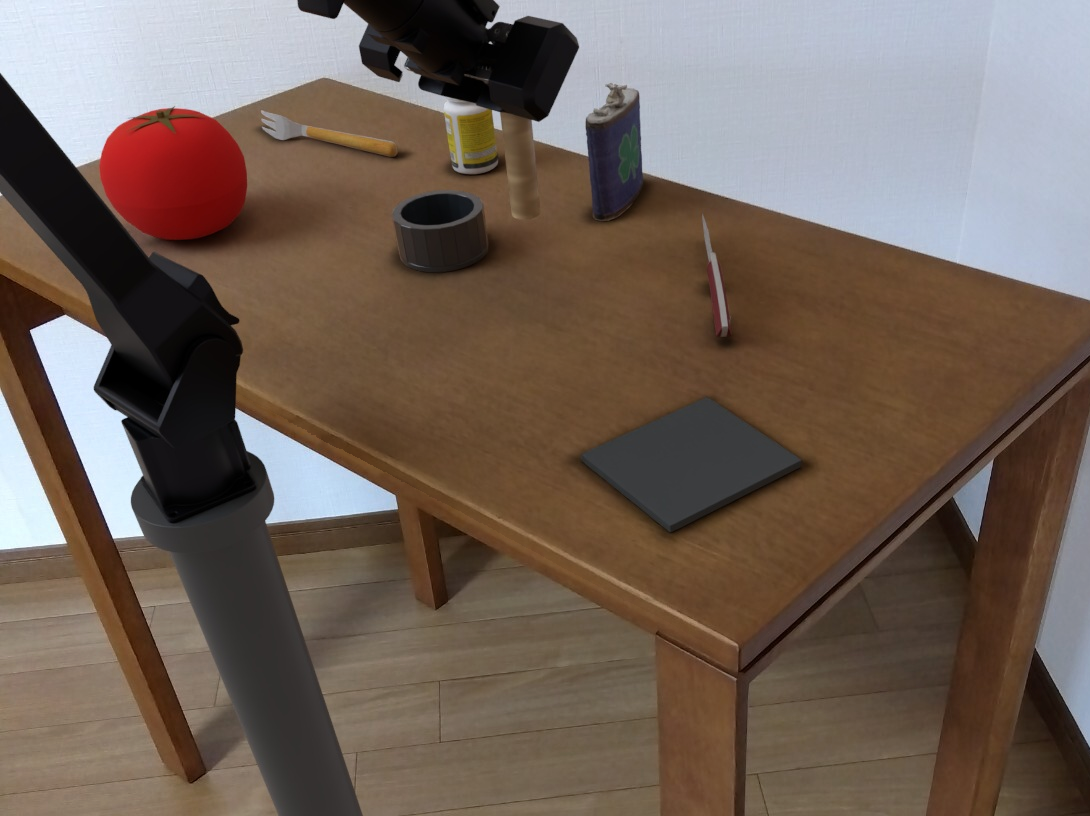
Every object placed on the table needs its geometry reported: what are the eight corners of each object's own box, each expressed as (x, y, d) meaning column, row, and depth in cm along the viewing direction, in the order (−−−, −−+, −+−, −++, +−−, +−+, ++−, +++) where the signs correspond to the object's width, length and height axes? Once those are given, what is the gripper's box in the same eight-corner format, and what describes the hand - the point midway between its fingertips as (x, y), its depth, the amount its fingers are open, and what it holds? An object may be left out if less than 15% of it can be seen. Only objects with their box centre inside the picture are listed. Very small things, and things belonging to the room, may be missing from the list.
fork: (402, 137, 120) (260, 107, 127) (391, 139, 118) (248, 108, 126) (402, 162, 121) (262, 131, 129) (391, 164, 119) (250, 133, 127)
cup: (426, 281, 99) (418, 237, 96) (384, 250, 104) (376, 207, 101) (505, 253, 102) (499, 210, 99) (460, 224, 107) (454, 182, 104)
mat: (670, 533, 72) (670, 525, 71) (581, 460, 78) (580, 453, 77) (801, 467, 76) (802, 459, 75) (707, 403, 82) (707, 396, 82)
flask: (623, 180, 112) (618, 65, 105) (651, 183, 111) (648, 67, 104) (586, 219, 106) (578, 101, 99) (616, 223, 105) (610, 103, 98)
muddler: (516, 222, 94) (495, 40, 84) (508, 211, 95) (487, 31, 86) (544, 216, 94) (526, 35, 85) (536, 205, 96) (518, 26, 86)
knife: (733, 348, 88) (734, 312, 85) (716, 349, 88) (717, 314, 86) (708, 232, 102) (708, 199, 100) (694, 233, 103) (694, 200, 100)
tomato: (209, 264, 104) (171, 142, 96) (98, 246, 108) (53, 128, 100) (285, 210, 111) (255, 94, 104) (178, 196, 116) (142, 83, 108)
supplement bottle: (507, 161, 117) (497, 76, 111) (480, 178, 114) (468, 91, 109) (470, 154, 119) (459, 69, 114) (442, 170, 116) (429, 85, 111)
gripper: (547, -111, 71) (664, 31, 84) (358, -136, 81) (489, -5, 94) (472, 58, 72) (599, 172, 86) (295, 13, 82) (433, 122, 95)
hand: (528, 109), depth 90 cm, fingers closed on muddler, 2 cm apart
